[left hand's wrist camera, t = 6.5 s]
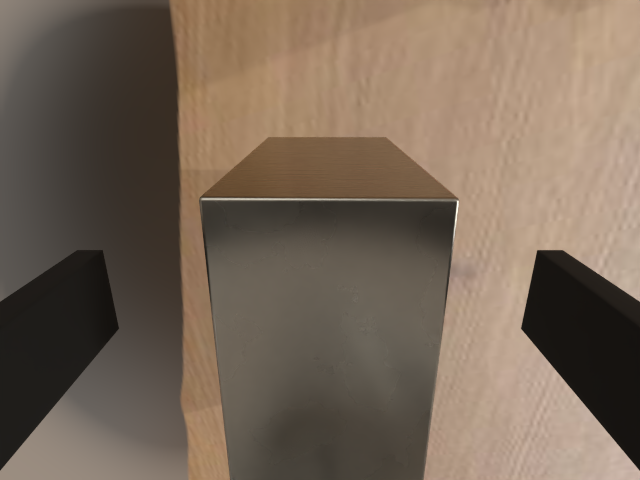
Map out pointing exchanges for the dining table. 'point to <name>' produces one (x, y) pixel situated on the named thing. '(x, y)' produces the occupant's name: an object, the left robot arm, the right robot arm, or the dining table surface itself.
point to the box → (328, 307)
